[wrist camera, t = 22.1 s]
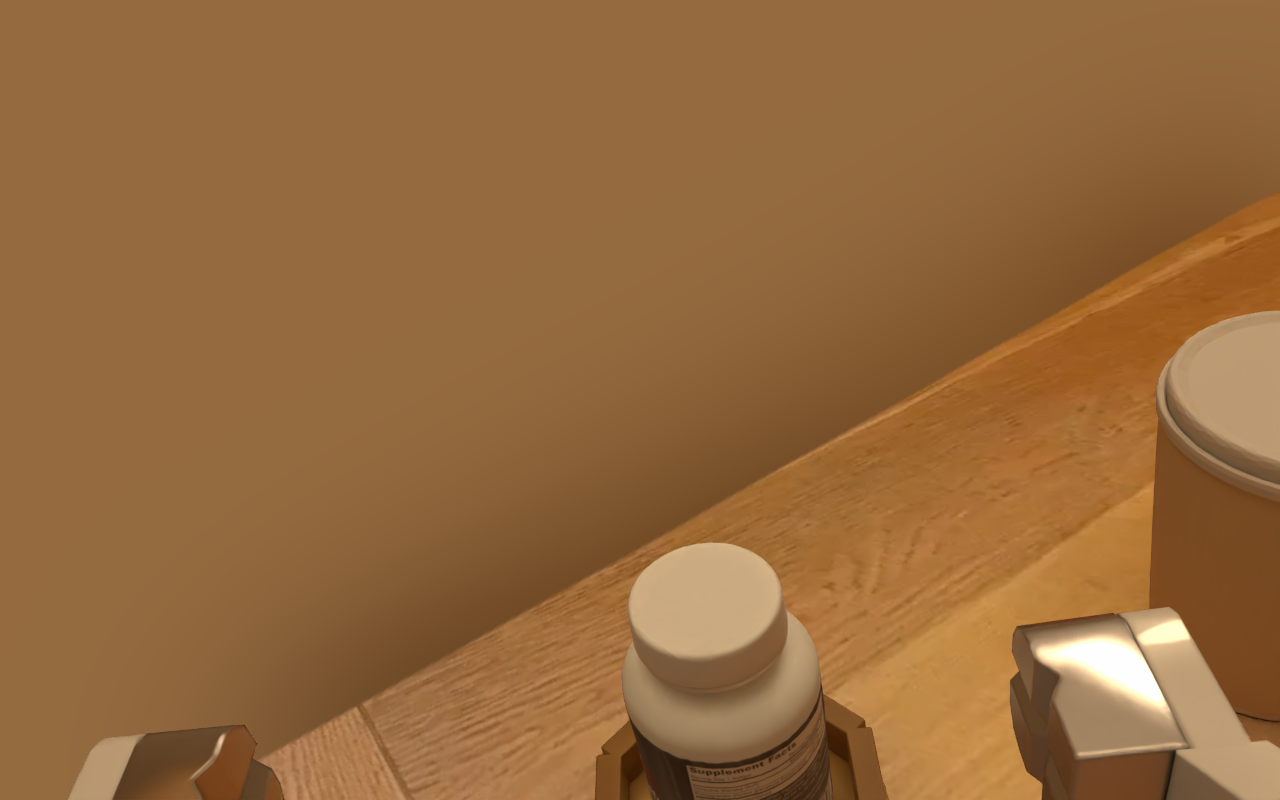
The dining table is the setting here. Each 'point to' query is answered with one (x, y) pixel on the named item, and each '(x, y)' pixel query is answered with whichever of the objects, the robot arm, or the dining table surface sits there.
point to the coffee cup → (1223, 504)
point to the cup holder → (849, 752)
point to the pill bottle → (723, 682)
